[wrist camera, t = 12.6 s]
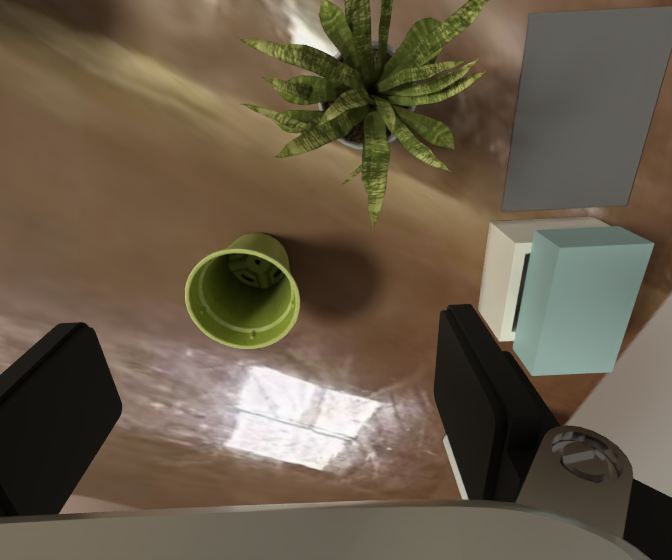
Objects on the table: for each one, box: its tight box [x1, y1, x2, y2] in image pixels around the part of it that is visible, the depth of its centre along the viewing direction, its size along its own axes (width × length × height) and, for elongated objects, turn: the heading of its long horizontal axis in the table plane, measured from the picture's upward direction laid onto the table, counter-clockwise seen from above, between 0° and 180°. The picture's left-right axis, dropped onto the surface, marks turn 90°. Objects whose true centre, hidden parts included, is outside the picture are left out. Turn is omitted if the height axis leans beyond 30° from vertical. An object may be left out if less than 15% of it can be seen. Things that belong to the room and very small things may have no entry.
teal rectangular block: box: [513, 226, 655, 376], centre depth 34 cm, size 12×7×4 cm, turn 2°
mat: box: [501, 6, 672, 212], centre depth 35 cm, size 16×12×1 cm
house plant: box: [239, 0, 488, 229], centre depth 26 cm, size 14×14×16 cm
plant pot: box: [185, 233, 300, 349], centre depth 36 cm, size 9×9×9 cm
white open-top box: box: [478, 216, 612, 341], centre depth 38 cm, size 10×10×6 cm
